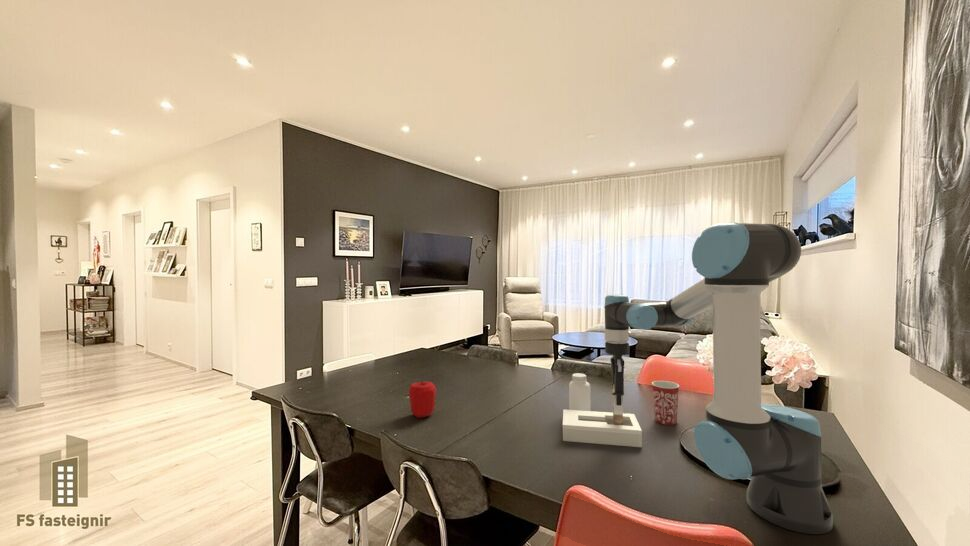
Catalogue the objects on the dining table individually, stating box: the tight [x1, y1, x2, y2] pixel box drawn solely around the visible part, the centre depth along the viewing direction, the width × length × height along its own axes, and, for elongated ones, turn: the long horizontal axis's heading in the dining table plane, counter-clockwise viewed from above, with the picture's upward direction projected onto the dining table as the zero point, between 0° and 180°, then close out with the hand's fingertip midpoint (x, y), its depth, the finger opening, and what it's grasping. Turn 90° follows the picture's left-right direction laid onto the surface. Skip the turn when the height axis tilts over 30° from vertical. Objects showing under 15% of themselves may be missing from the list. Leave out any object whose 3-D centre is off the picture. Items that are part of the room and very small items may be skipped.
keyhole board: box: [562, 408, 643, 448], centre depth 127 cm, size 14×24×5 cm, turn 77°
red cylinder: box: [408, 380, 437, 419], centre depth 146 cm, size 10×10×14 cm
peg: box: [612, 384, 623, 425], centre depth 125 cm, size 6×6×16 cm
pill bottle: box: [568, 372, 592, 411], centre depth 146 cm, size 8×8×15 cm
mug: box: [651, 380, 680, 426], centre depth 139 cm, size 13×9×14 cm
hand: (617, 412), depth 125 cm, fingers closed on peg, 3 cm apart
